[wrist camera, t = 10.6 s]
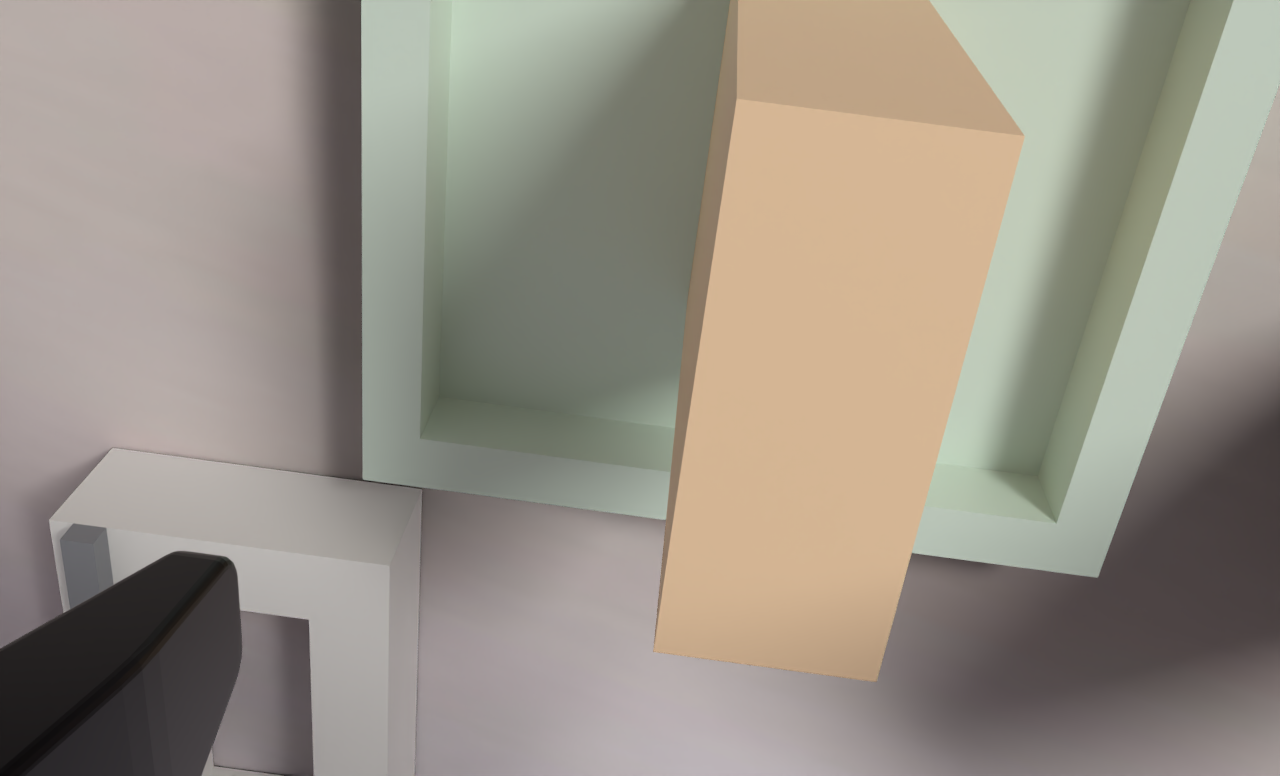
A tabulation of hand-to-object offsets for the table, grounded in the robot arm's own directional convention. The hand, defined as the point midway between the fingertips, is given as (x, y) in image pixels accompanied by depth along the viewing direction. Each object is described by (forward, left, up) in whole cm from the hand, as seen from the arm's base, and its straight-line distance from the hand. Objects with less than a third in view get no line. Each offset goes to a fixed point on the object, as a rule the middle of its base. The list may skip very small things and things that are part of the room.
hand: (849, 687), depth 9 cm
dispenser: (-13, +9, -13) cm, 20 cm away
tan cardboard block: (0, 0, -12) cm, 12 cm away
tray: (0, 0, -13) cm, 13 cm away
